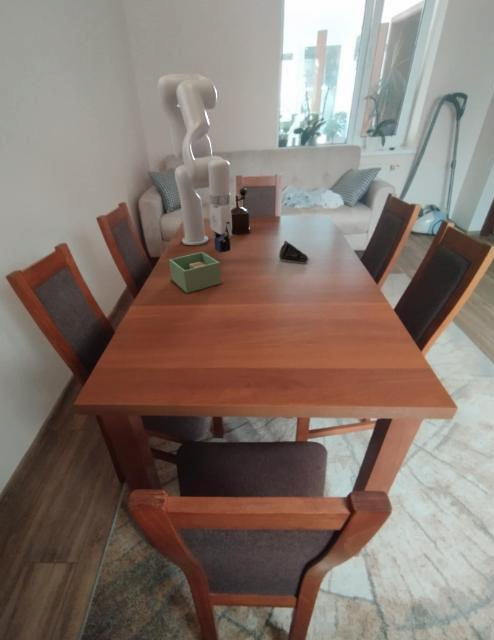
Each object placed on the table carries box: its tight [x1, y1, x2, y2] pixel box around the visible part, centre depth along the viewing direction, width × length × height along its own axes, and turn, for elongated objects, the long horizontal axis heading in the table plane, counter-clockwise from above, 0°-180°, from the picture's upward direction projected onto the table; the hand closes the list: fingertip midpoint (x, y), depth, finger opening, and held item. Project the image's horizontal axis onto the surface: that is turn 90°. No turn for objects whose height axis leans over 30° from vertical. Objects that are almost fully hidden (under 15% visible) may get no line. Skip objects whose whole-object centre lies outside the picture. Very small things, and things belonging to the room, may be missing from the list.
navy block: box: [213, 236, 231, 254], centre depth 131 cm, size 5×5×5 cm
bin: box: [168, 251, 222, 294], centre depth 118 cm, size 14×14×8 cm
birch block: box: [189, 261, 205, 269], centre depth 121 cm, size 5×5×5 cm
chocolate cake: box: [278, 240, 309, 265], centre depth 133 cm, size 10×7×12 cm
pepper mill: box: [231, 187, 251, 236], centre depth 164 cm, size 16×11×18 cm
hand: (222, 248), depth 132 cm, fingers closed on navy block, 4 cm apart
